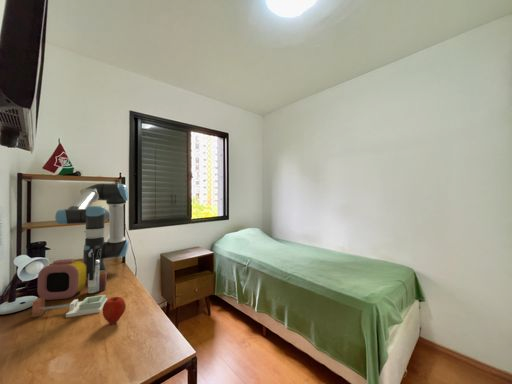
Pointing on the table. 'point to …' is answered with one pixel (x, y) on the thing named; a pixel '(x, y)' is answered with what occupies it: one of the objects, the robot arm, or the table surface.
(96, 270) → the silver metal cylinder
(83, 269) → the alarm clock
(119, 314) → the apple
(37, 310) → the pin
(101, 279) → the mug
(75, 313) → the dock
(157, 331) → the table surface
